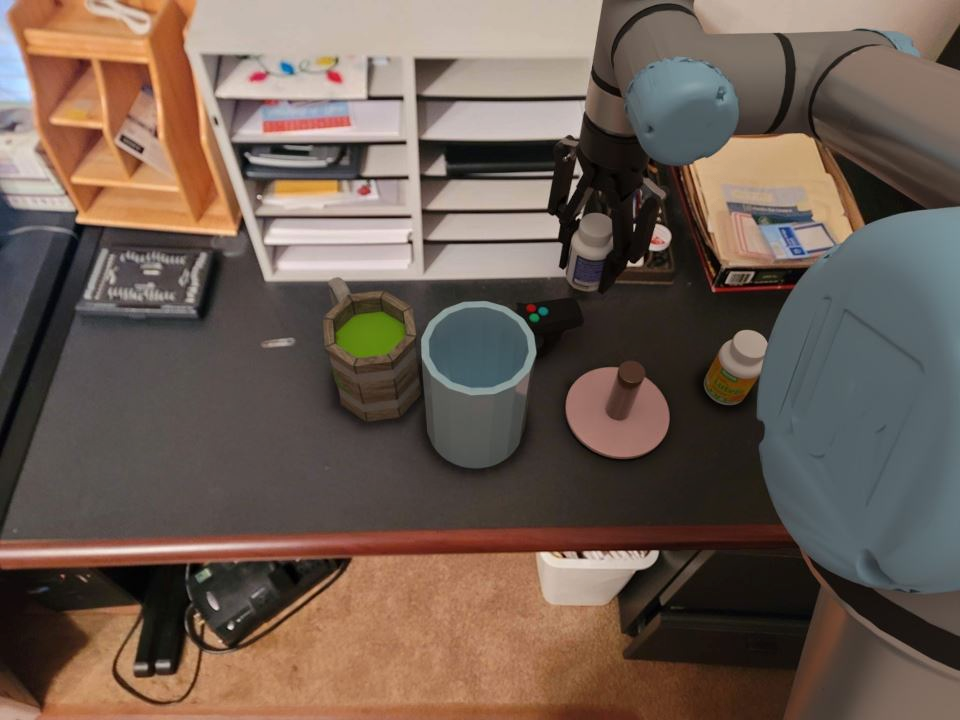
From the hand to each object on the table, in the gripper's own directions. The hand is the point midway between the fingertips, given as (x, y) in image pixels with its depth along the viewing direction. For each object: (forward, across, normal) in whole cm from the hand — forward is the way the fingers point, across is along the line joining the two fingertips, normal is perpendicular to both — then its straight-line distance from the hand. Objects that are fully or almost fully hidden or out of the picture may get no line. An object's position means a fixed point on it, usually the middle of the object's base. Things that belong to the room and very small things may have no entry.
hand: (586, 274), depth 87 cm
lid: (+8, -13, +9) cm, 18 cm away
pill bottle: (0, 0, 0) cm, 1 cm away
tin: (+9, -1, +22) cm, 23 cm away
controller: (+9, +1, +9) cm, 12 cm away
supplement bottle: (+9, -21, -3) cm, 23 cm away
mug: (+9, +14, +25) cm, 30 cm away
